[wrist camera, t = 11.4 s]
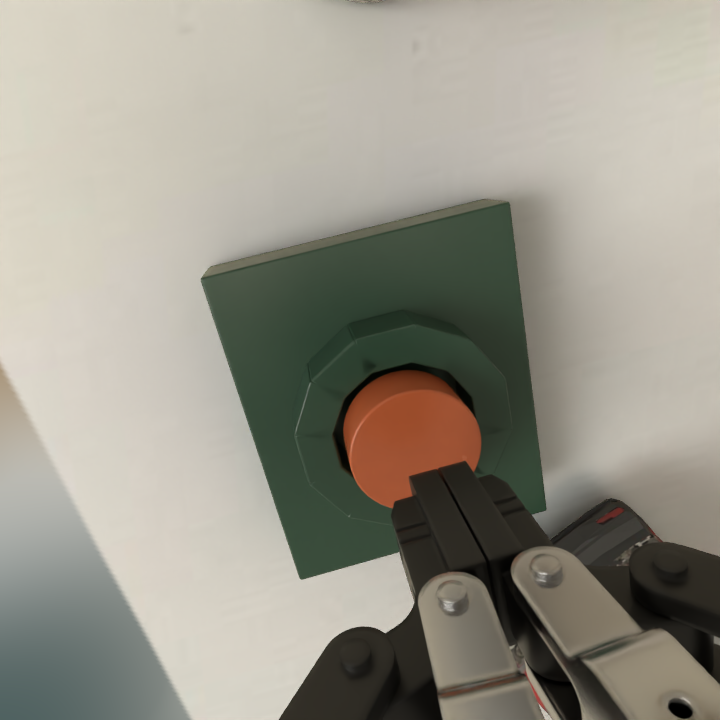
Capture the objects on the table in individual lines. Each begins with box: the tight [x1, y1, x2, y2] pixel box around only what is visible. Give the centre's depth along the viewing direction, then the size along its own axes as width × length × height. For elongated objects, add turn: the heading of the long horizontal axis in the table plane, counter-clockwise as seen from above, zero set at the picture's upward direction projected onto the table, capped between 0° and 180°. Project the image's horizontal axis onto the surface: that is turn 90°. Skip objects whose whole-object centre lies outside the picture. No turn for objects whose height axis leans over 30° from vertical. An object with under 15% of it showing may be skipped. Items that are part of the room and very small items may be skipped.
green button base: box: [201, 199, 546, 580], centre depth 19 cm, size 12×10×4 cm
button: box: [343, 370, 481, 508], centre depth 17 cm, size 4×4×2 cm
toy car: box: [509, 498, 720, 714], centre depth 22 cm, size 9×18×10 cm, turn 38°
